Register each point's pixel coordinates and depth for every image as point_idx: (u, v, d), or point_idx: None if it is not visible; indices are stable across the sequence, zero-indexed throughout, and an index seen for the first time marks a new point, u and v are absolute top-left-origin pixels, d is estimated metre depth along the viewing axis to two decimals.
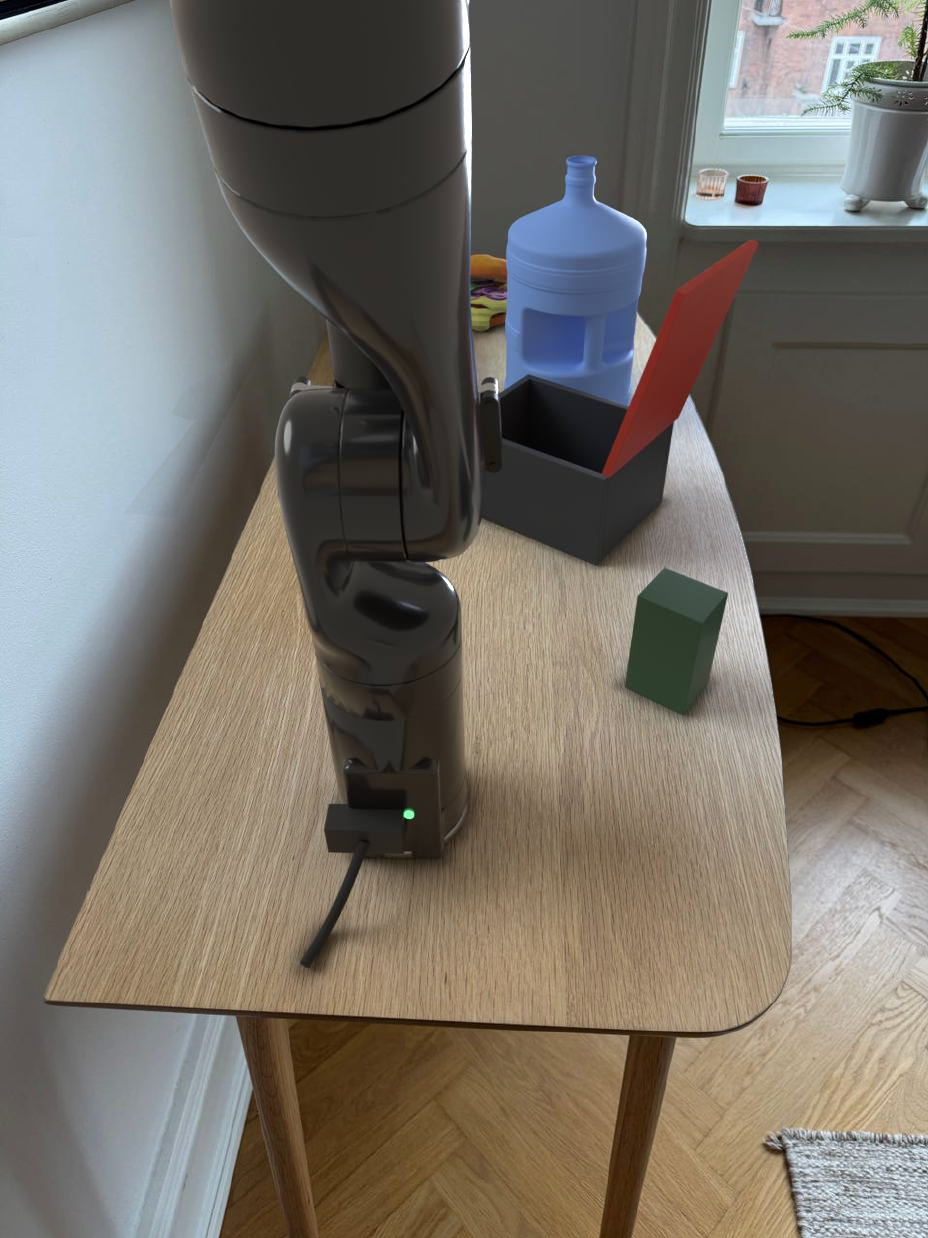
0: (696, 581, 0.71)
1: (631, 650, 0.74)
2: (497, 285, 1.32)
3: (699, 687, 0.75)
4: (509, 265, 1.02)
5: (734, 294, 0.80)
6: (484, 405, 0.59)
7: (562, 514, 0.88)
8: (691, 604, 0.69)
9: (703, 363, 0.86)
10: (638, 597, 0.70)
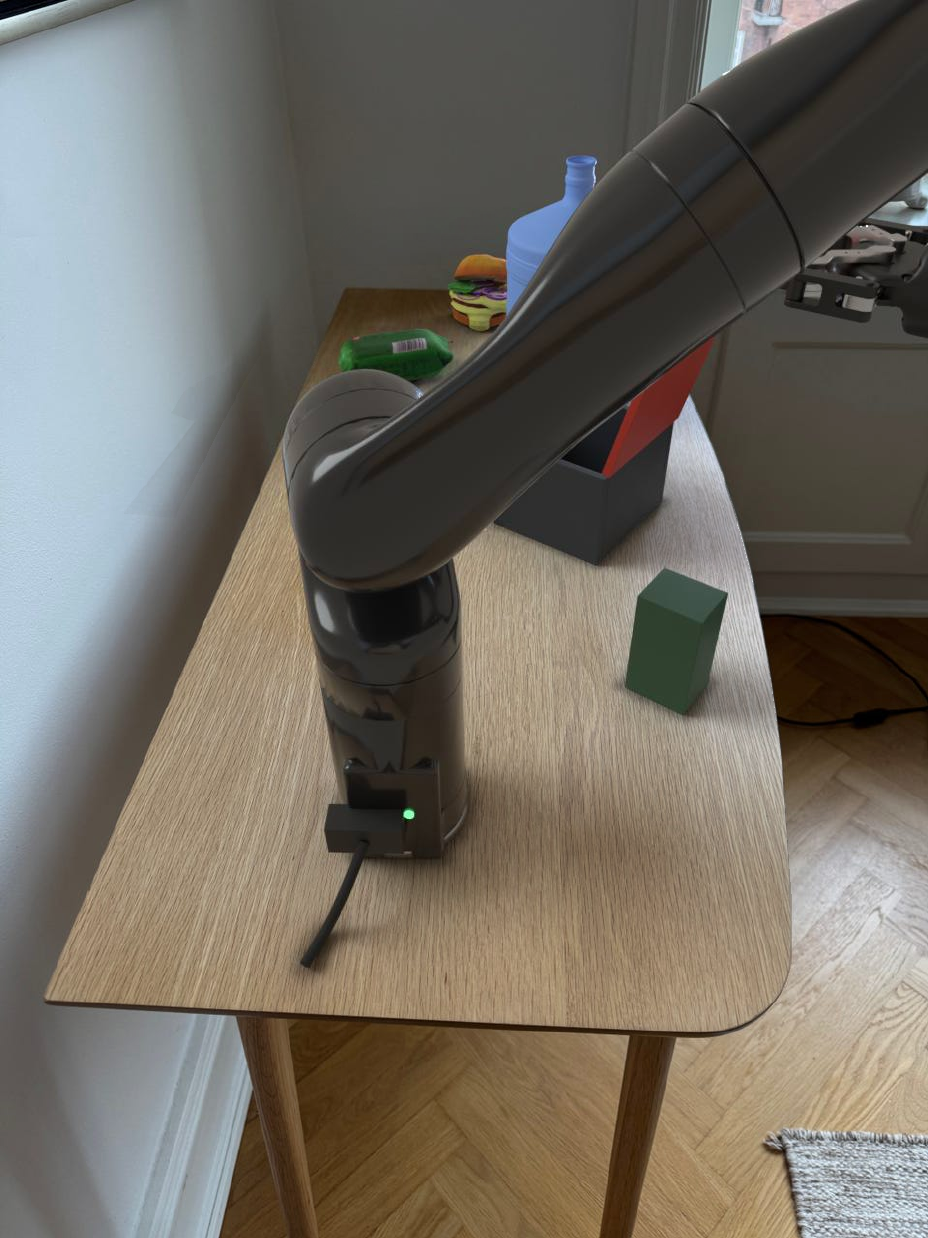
0: (696, 581, 0.71)
1: (631, 650, 0.74)
2: (497, 285, 1.32)
3: (699, 687, 0.75)
4: (509, 265, 1.02)
5: None
6: None
7: (562, 514, 0.88)
8: (691, 604, 0.69)
9: (703, 363, 0.86)
10: (638, 597, 0.70)
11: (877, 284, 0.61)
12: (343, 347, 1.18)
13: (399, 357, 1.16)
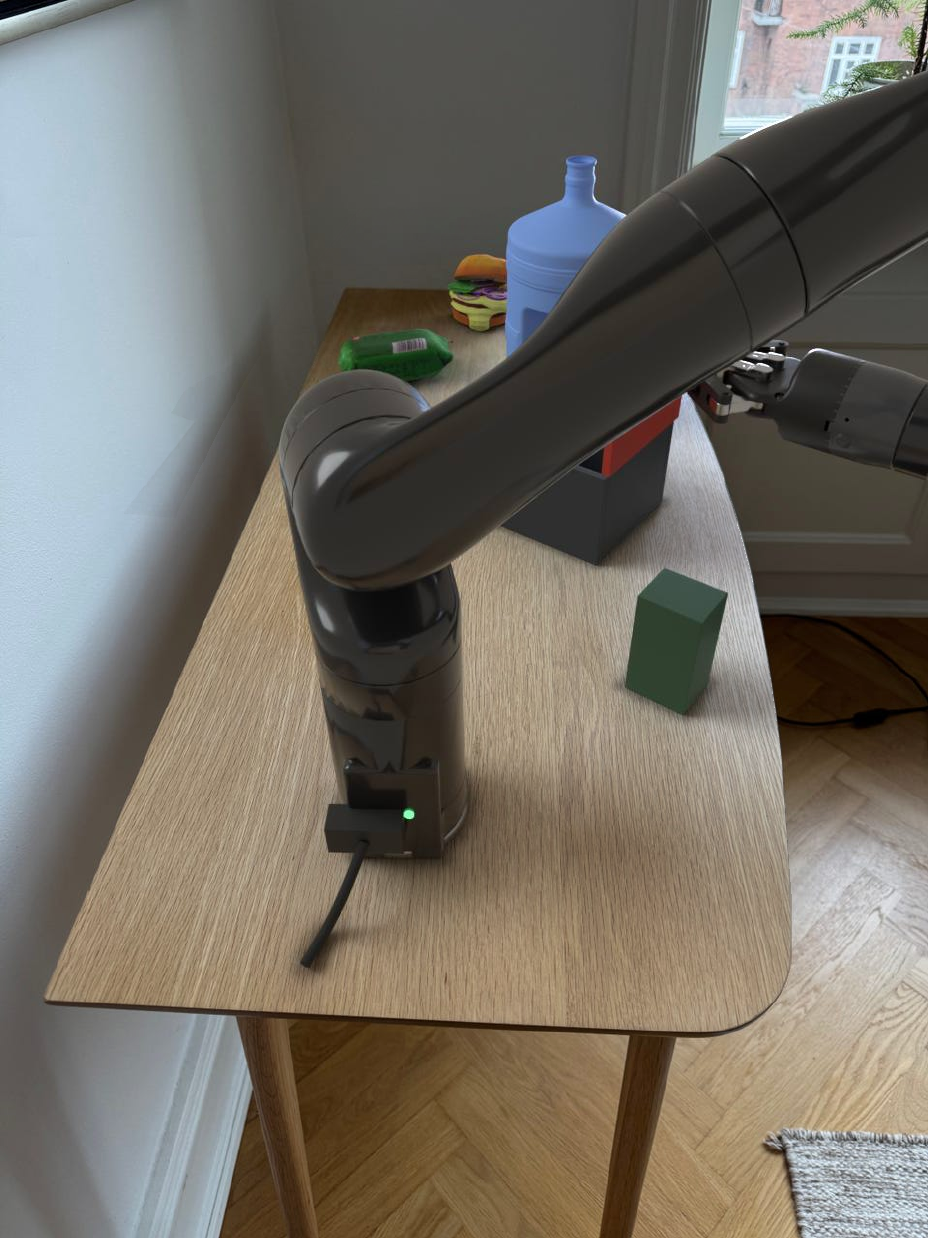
0: (696, 581, 0.71)
1: (631, 650, 0.74)
2: (497, 285, 1.32)
3: (699, 687, 0.75)
4: (509, 265, 1.02)
5: None
6: (728, 391, 0.72)
7: (562, 514, 0.88)
8: (691, 604, 0.69)
9: None
10: (638, 597, 0.70)
11: (729, 395, 0.72)
12: (343, 347, 1.18)
13: (399, 357, 1.16)
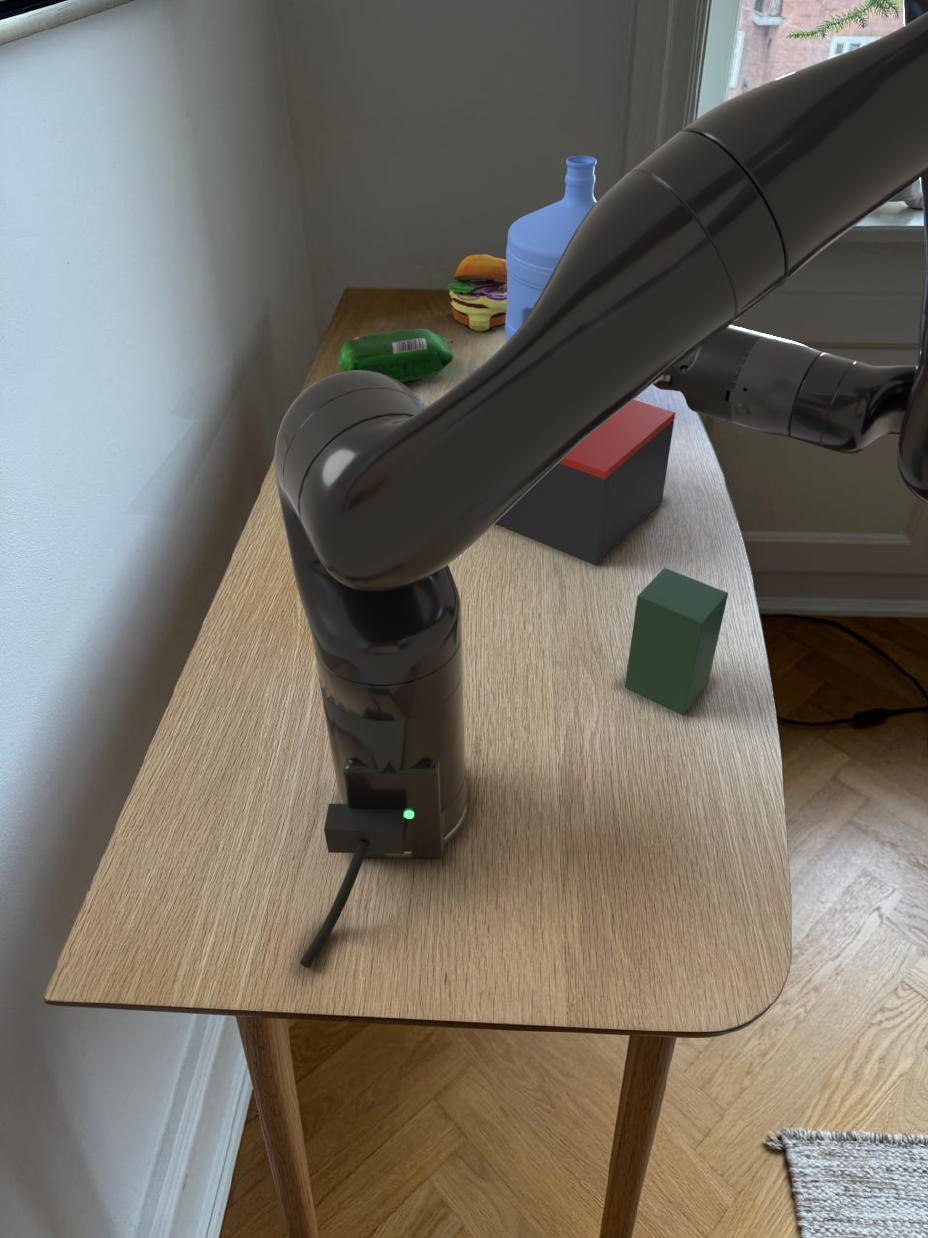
0: (696, 581, 0.71)
1: (631, 650, 0.74)
2: (497, 285, 1.32)
3: (699, 687, 0.75)
4: (509, 265, 1.02)
5: None
6: None
7: (562, 514, 0.88)
8: (691, 604, 0.69)
9: None
10: (638, 597, 0.70)
11: None
12: (343, 347, 1.18)
13: (399, 357, 1.16)
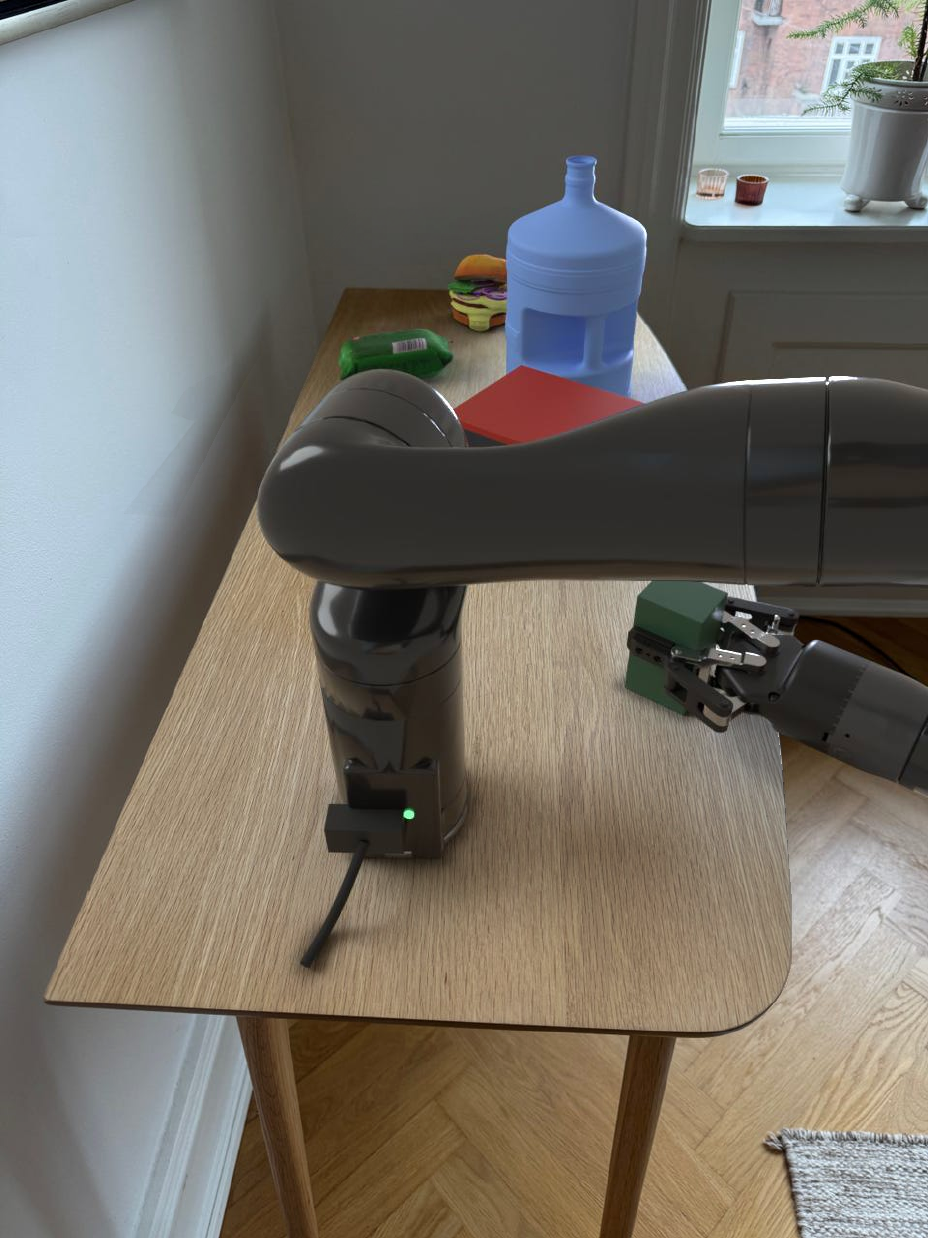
0: None
1: None
2: (497, 285, 1.32)
3: None
4: (509, 265, 1.02)
5: (556, 377, 0.97)
6: (727, 701, 0.65)
7: None
8: (691, 604, 0.69)
9: None
10: (638, 597, 0.70)
11: (731, 706, 0.65)
12: (343, 347, 1.18)
13: (399, 357, 1.16)
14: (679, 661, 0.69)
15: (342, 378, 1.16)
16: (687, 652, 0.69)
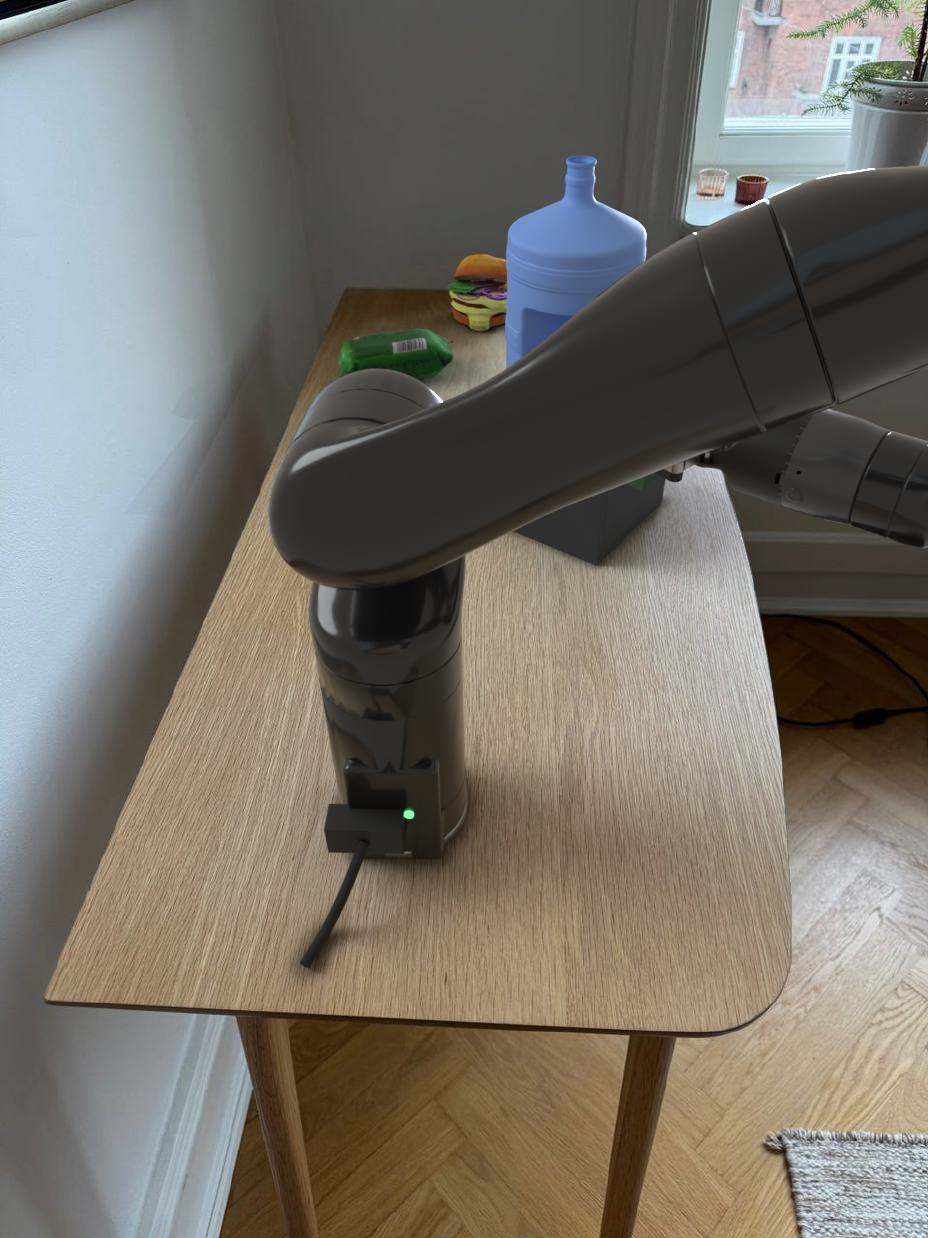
0: None
1: None
2: (497, 285, 1.32)
3: None
4: (509, 265, 1.02)
5: None
6: None
7: (562, 514, 0.88)
8: None
9: None
10: None
11: None
12: (343, 347, 1.18)
13: (399, 357, 1.16)
14: None
15: None
16: None
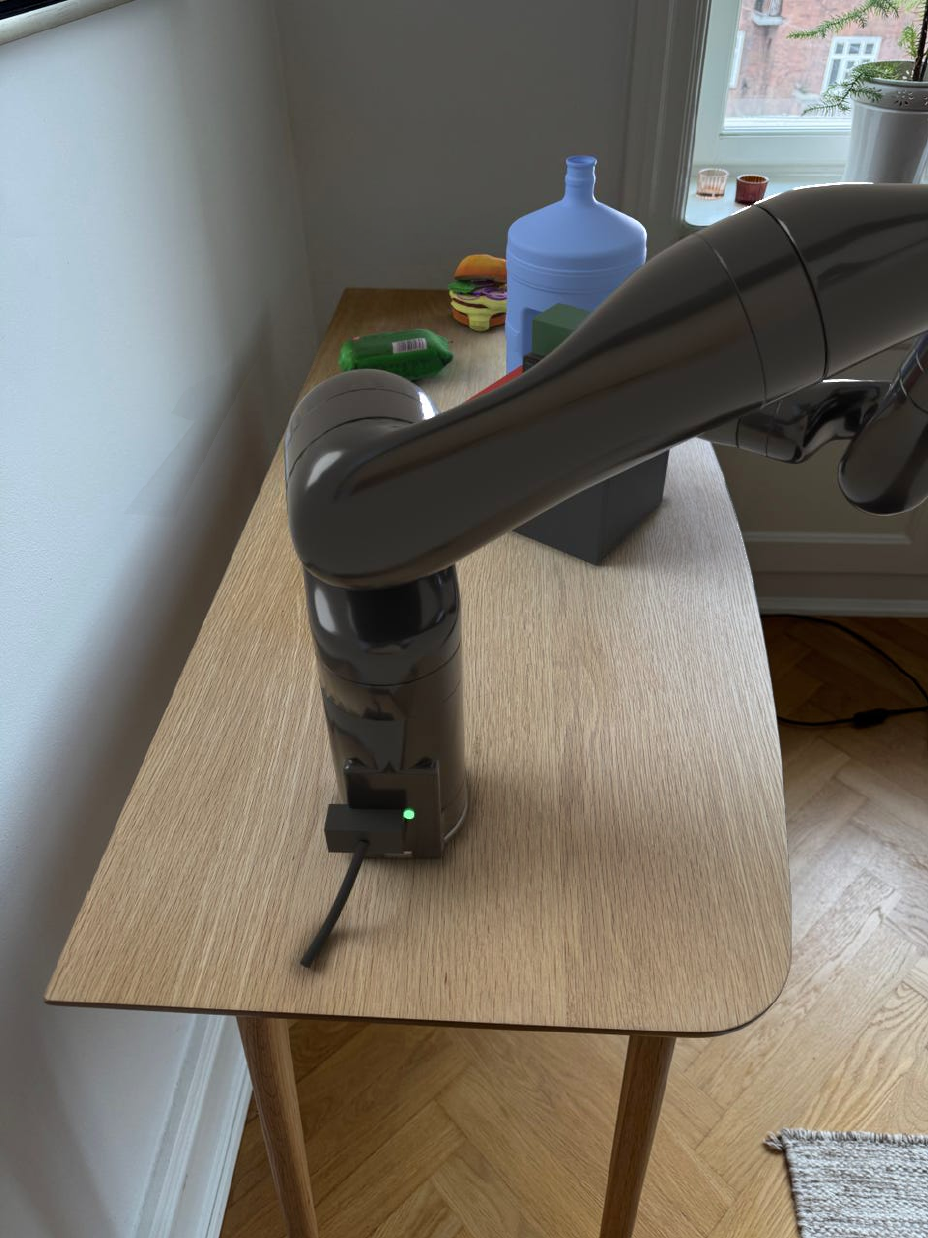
0: (583, 309, 0.85)
1: None
2: (497, 285, 1.32)
3: None
4: (509, 265, 1.02)
5: None
6: None
7: (562, 514, 0.88)
8: (576, 322, 0.83)
9: None
10: (533, 319, 0.84)
11: None
12: (343, 347, 1.18)
13: (399, 357, 1.16)
14: None
15: None
16: None
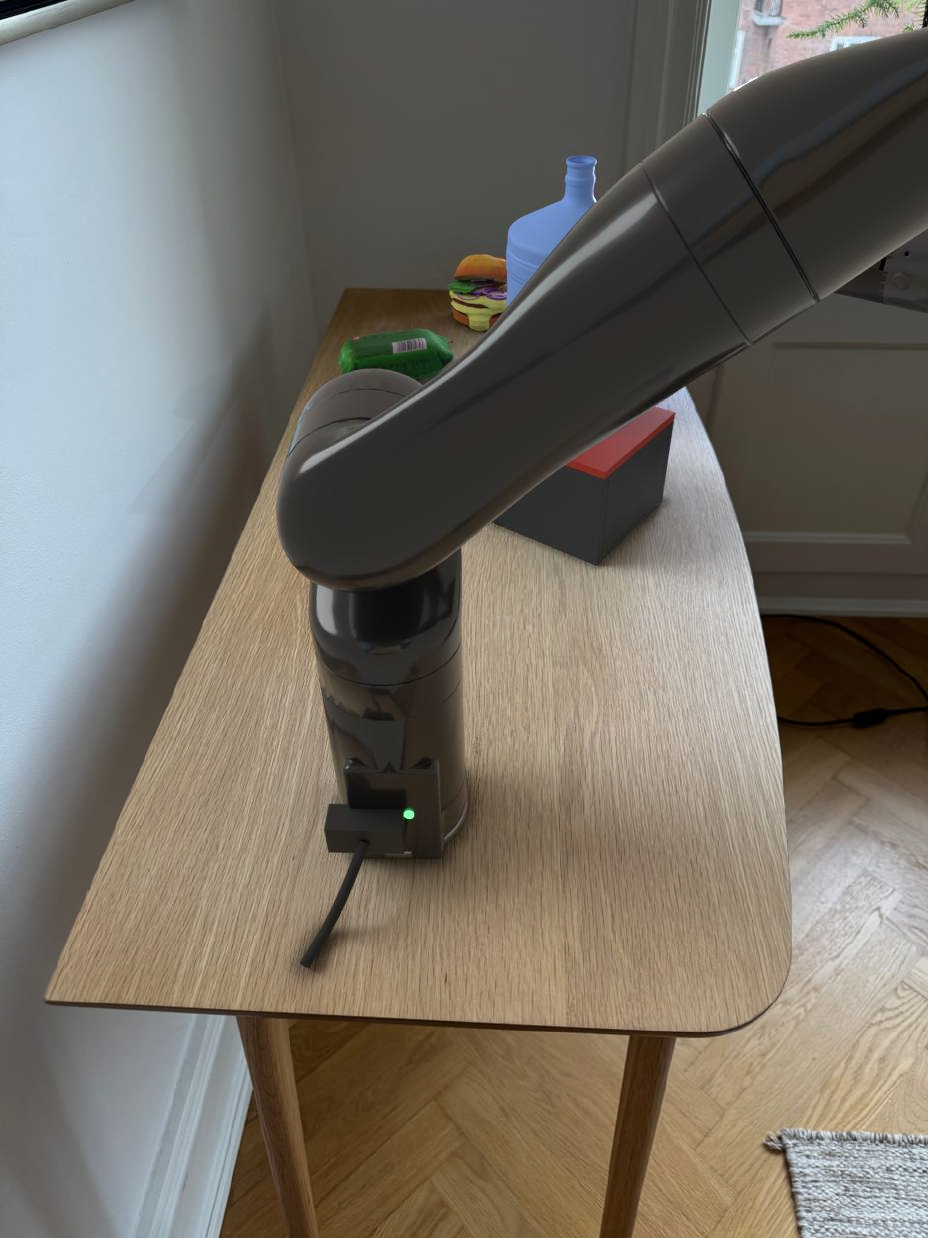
0: None
1: None
2: (497, 285, 1.32)
3: None
4: (509, 265, 1.02)
5: None
6: None
7: (562, 514, 0.88)
8: None
9: None
10: None
11: None
12: (343, 347, 1.18)
13: (399, 357, 1.16)
14: None
15: None
16: None
